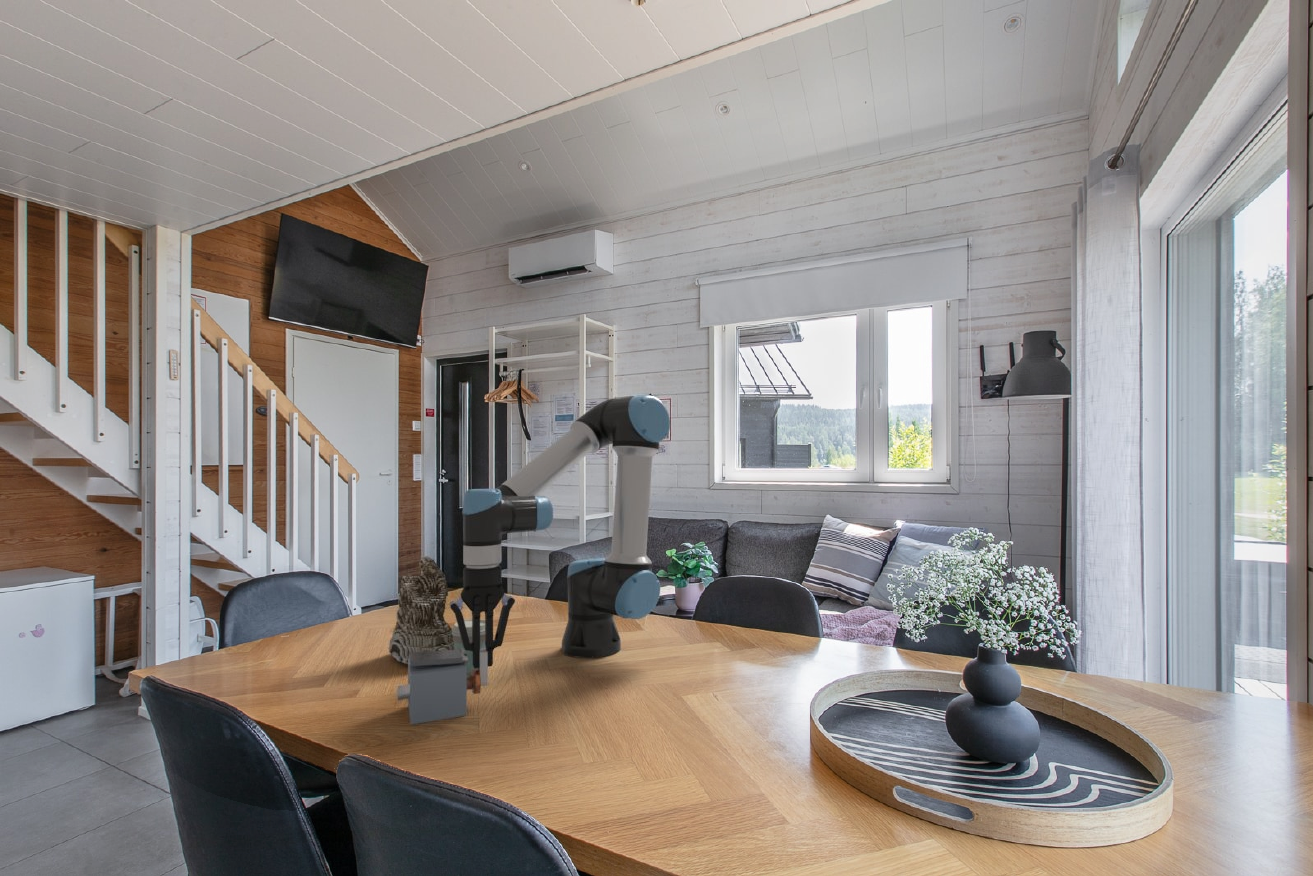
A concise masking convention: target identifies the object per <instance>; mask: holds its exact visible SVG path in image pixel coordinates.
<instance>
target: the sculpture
mask: <svg viewBox="0 0 1313 876" xmlns="http://www.w3.org/2000/svg"><path fill="white" fill-rule="evenodd" d="M418 566H419V570H420V571H421V573H420V574H419V575H418V576H417V575H413V574H407V575H404V576H402V578H401V580H400V586H401V588H400V590H399V594H398V596H397V601H398V603H397V604H398V609H397V610H396V623H395V626H394V629H393V631H392V636H391V638H390V639H389V643H388V645H389V647H388V653H389V654H390V655H392V657H393V658H395V659H396V661H398V662H399V663H403V664H406V665H408V661H409V652H427V651H445V650H455V648H454V640H453V635H452V629H453V628H452V627H451V626H450V625H449V623H448V622H447V621H446V619H445V616H444V615H445V613H446V612H445V611H446V603H447V597H448V596H449V586H448V582H447V577H446V576H445V573H443V570H442V569H441V568H440V567H439V566H438V564H437V562H436V561H435V559H434V558H433V559H432V558H431V557H430V556H429V555H426V556H422V558H420V559H419V562H418Z"/></svg>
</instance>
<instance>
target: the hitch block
mask: <svg viewBox="0 0 1313 876" xmlns="http://www.w3.org/2000/svg"><path fill="white" fill-rule="evenodd" d="M407 669H408V670H407V675H408V676H407V679H408V680H407V682H408V683H407V685H408V684H410V699H407V703H408V704H407V706H408V713H409V714H408V715H409V721H410V725H418V724H424V723H429V722H430V723H431V722H435V721H441V720H448V719H453V718H459V717H466V716H468V715H467V714H468V712H467V710H468V709H467V707H468V706H467V697H468V696H467V691H468V690H467V679H466V666H465V664H464V663H456V664H439V665H423V666H410V661H408V664H407Z"/></svg>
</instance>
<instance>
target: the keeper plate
mask: <svg viewBox="0 0 1313 876" xmlns="http://www.w3.org/2000/svg"><path fill="white" fill-rule="evenodd" d="M409 661H410V666H423V665H439V664H456V663H467V662H468V661H469V659H468V657H467V655H466V653H465V651H464V649H463V648H461V649H459V650H445V651H427V652H409Z"/></svg>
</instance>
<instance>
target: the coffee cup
mask: <svg viewBox="0 0 1313 876" xmlns="http://www.w3.org/2000/svg"><path fill="white" fill-rule="evenodd" d="M464 622H465V626H466V630H467V634H468V638H469V642H470V643H472V618H471V619H464ZM452 635H453V640H454V648H455V650H459V649H461V648H463V649H464V651H465V653H466V655H467V657H468V659H469V661H468V662H467V663H464V664H465V666H466V676H471V673H472V670H477V669H478V668H476V669H475V668H474V666H473V652H472V651H469V650H468V651H467V650H465V648H464V646H463V643H462V639H461V635H460V632H459V628H458V624H457V622H455V623H454V624H453V628H452ZM480 649H486V647H485V619H482V618H480Z"/></svg>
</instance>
